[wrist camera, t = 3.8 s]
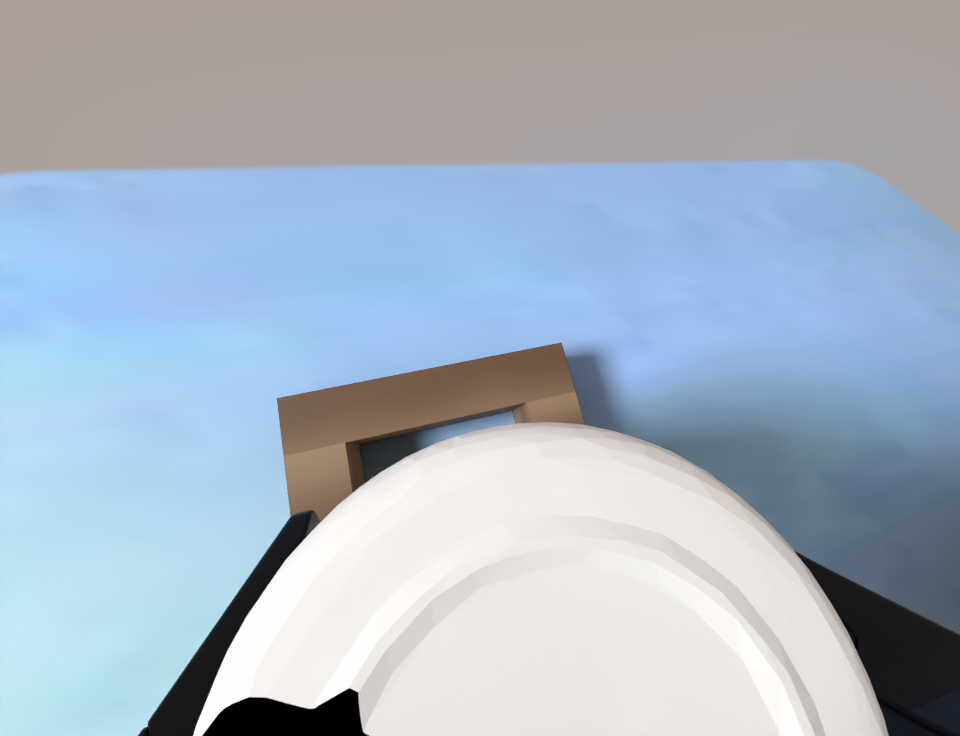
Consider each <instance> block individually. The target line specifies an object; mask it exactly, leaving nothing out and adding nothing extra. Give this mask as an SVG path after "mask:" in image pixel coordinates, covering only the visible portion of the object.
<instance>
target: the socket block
mask: <svg viewBox="0 0 960 736" xmlns="http://www.w3.org/2000/svg"><path fill="white" fill-rule="evenodd" d="M277 403H278V412H279V420H280V429H281V437H282V446H283V454H284V463H285V472H286V480H287V489H288V497H289V506H290V514H291V516H292V515H294V514H296V513H300V512H304V511H308V510H313V511H315V513H316V514H317V516H318V518H319V520H320V522H321V521H322V520H323V519H324V518H325V517H326V516H327V515H328V514H329V513H330V512H331V511H332V510H333V509H334V508H335V507H336V506H337V505H338V504H340V503H341V502H342V501H343V500H345V499H346V498H347V497H348V496H349V495H351V494H352V493H353V492H354V491H356V490H357V489H358V488H359V487H360V486H362V485H363V484H365V477H364V470H363V464H362V458H361V452H360V445H361V444H366V443H370V442H375V441H379V440H384V439H388V438H392V437H397V436H401V435H406V434H410V433H415V432H419V431H424V430H428V429H433V428H437V427H442V426H446V425H451V424H455V423H460V422H464V421H469V420H473V419H477V418H482V417H486V416H491V415H495V414H500V413H504V412H509V411H513V414H514V418H515V422H516V424H517V423H537V422H556V423H571V424H583V425H585V423H584V419H583V416H582V412H581V409H580V405H579V402H578V398H577V395H576V392H575V388H574V385H573V381H572V378H571V374H570V371H569V367H568V364H567V360H566V357H565V353H564V350H563V346H562V343H557V344H552V345H547V346H542V347H537V348H532V349H527V350H522V351H516V352H511V353H506V354H501V355H496V356H491V357H486V358H481V359H476V360H470V361H465V362H460V363H455V364H450V365H445V366H440V367H435V368H430V369H425V370H419V371H414V372H409V373H404V374H399V375H394V376H389V377H384V378H379V379H373V380H368V381H363V382H358V383H353V384H348V385H343V386H338V387H333V388H328V389H322V390H317V391H312V392H307V393H302V394H297V395H292V396H287V397H282V398H277Z"/></svg>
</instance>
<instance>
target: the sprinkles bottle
mask: <svg viewBox="0 0 960 736" xmlns="http://www.w3.org/2000/svg"><path fill="white" fill-rule="evenodd" d="M193 736H889V735H888V732H887V728H886V724H885V720H884V717H883V714H882V711H881V709H880V706H879V703H878V701H877V698H876V695H875V692H874V690H873V687H872V684H871V682H870V679H869V677H868V674H867V672H866V670H865V668H864V666H863V664H862V662H861V659H860V657H859V655H858V653H857V651H856V649H855V646H854V644H853V642H852V640H851V638H850V636H849V634H848V631H847V630H846V628H845V626H844V625H843V623H842V621H841V619H840V618H839V616H838V614H837V612H836V611H835V609H834V607H833V606H832V604H831V602H830V601H829V599H828V598H827V596H826V595H825V593H824V592H823V590H822V589H821V587H820V585H819V584H818V582H817V581H816V579H815V578H814V576H813V575H812V573H811V572H810V570H809V569H808V568H807V567H806V565H805V564H804V563H803V562H802V560H801V559H800V558H799V557H798V555H797V554H796V553H795V552H794V550H793V549H792V548H791V547H790V545H789V544H788V543H787V542H786V541H785V540H784V539H783V537H782V536H781V535H780V534H779V533H778V532H777V531H776V530H775V529H774V528H773V527H772V526H771V525H770V524H769V523H768V522H767V521H766V520H765V519H764V518H763V517H762V516H761V515H760V514H759V513H758V512H757V511H756V510H755V509H754V508H752V507H751V506H750V505H749V504H748V503H747V502H746V501H745V500H743V499H742V498H741V497H740V496H739V495H738V494H736V493H735V492H733V491H732V490H731V489H729V488H728V487H727V486H725V485H724V484H723V483H721V482H720V481H719V480H717V479H716V478H715V477H713V476H712V475H711V474H709V473H708V472H707V471H705V470H703V469H701V468H700V467H698V466H696V465H694V464H693V463H691V462H689V461H688V460H686V459H684V458H682V457H681V456H679V455H677V454H676V453H674V452H672V451H670V450H667V449H665V448H663V447H660V446H658V445H655V444H653V443H650V442H647V441H645V440H642V439H639V438H636V437H632V436H629V435H626V434H622V433H619V432H616V431H613V430H608V429H603V428H598V427H593V426H588V425H583V424H571V423H556V422H537V423H517V424H509V425H502V426H494V427H490V428H485V429H480V430H476V431H471V432H468V433H465V434H462V435H458V436H455V437H452V438H449V439H446V440H442V441H439V442H437V443H435V444H433V445H431V446H429V447H426V448H424V449H422V450H420V451H418V452H416V453H414V454H411V455H409V456H407V457H405V458H404V459H402V460H400V461H399V462H397V463H395V464H393V465H392V466H390V467H388V468H387V469H385V470H383V471H382V472H380V473H379V474H377V475H376V476H375V477H373V478H372V479H370V480H369V481H368V482H366V483H365V484H363V485H362V486H360V487H359V488H358V489H357V490H356V491H354V492H353V493H352V494H351V495H349V496H348V497H347V498H346V499H345V500H343V501H342V502H341V503H340V504H338V505H337V506H336V507H335V508H334V509H333V510H332V511H331V512H330V513H329V514H328V515H327V516H326V517H325V518H324V519H323V520H322V521H321V522H320V523H319V524H318V525H317V526H316V527H315V529H314V530H313V531H312V532H311V533H310V534H309V535H308V536H307V537H306V538H305V539H304V540H303V541H302V542H301V544H300V545H299V546H298V547H297V548H296V549H295V550H294V551H293V552H292V553H291V555H290V556H289V557H288V558H287V559H286V560H285V562H284V563H283V564H282V566H281V567H280V569H279V570H278V572H277V573H276V574H275V576H274V577H273V579H272V580H271V582H270V583H269V584H268V586H267V587H266V589H265V590H264V592H263V593H262V595H261V596H260V598H259V599H258V601H257V602H256V603H255V605H254V606H253V608H252V609H251V611H250V612H249V613H248V615H247V617H246V618H245V620H244V622H243V624H242V625H241V627H240V629H239V631H238V633H237V634H236V636H235V638H234V640H233V642H232V643H231V645H230V647H229V649H228V651H227V653H226V655H225V658H224V660H223V662H222V664H221V667H220V669H219V671H218V673H217V676H216V678H215V681H214V683H213V685H212V688H211V690H210V693H209V695H208V698H207V700H206V703H205V705H204V708H203V710H202V713H201V715H200V717H199V720H198V722H197V725H196V728H195V731H194V735H193Z"/></svg>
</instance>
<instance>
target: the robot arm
mask: <svg viewBox="0 0 960 736" xmlns="http://www.w3.org/2000/svg"><path fill="white" fill-rule="evenodd" d="M319 523H320V520H319V518H318V516H317V514H316V513H315V511H313V510H308V511H304V512H300V513H296V514H294V515H292V516H291V517H290V518H289V520H288V521H287V523H286V524H285V526H284V527H283V528H282V530H281V531H280V533H279V534H278V536H277V537H276V539H275V540H274V541H273V543H272V544H271V546H270V547H269V549H268V550H267V551H266V553H265V554H264V556H263V557H262V559H261V560H260V561H259V563H258V564H257V566H256V567H255V569H254V570H253V572H252V573H251V574H250V576H249V577H248V579H247V580H246V582H245V583H244V584H243V586H242V587H241V589H240V590H239V592H238V593H237V595H236V596H235V597H234V599H233V600H232V602H231V603H230V605H229V606H228V607H227V609H226V610H225V612H224V613H223V615H222V616H221V618H220V619H219V620H218V622H217V623H216V625H215V626H214V628H213V629H212V630H211V632H210V633H209V635H208V636H207V638H206V639H205V641H204V642H203V643H202V645H201V646H200V648H199V649H198V651H197V652H196V653H195V655H194V656H193V658H192V659H191V661H190V662H189V664H188V665H187V666H186V668H185V669H184V671H183V672H182V674H181V675H180V676H179V678H178V679H177V681H176V682H175V684H174V685H173V687H172V688H171V689H170V691H169V692H168V694H167V695H166V697H165V698H164V699H163V701H162V702H161V704H160V705H159V707H158V708H157V710H156V711H155V712H154V714H153V715H152V717H151V718H150V720H149V721H148V727H145V728H144V729H142V731H141V732H140V734H139V735H138V736H193V735H194V731H195V728H196V725H197V722H198V720H199V717H200V715H201V713H202V710H203V708H204V705H205V703H206V700H207V698H208V695H209V693H210V690H211V688H212V685H213V683H214V681H215V678H216V676H217V673H218V671H219V669H220V667H221V664H222V662H223V660H224V658H225V655H226V653H227V651H228V649H229V647H230V645H231V643H232V642H233V640H234V638H235V636H236V634H237V633H238V631H239V629H240V627H241V625H242V624H243V622H244V620H245V618H246V617H247V615H248V613H249V612H250V611H251V609H252V608H253V606H254V605H255V603H256V602H257V601H258V599H259V598H260V596H261V595H262V593H263V592H264V590H265V589H266V587H267V586H268V584H269V583H270V582H271V580H272V579H273V577H274V576H275V574H276V573H277V572H278V570H279V569H280V567H281V566H282V564H283V563H284V562H285V560H286V559H287V558H288V557H289V556H290V555H291V553H292V552H293V551H294V550H295V549H296V548H297V547H298V546H299V545H300V544H301V542H302V541H303V540H304V539H305V538H306V537H307V536H308V535H309V534H310V533H311V532H312V531H313V530H314V529H315V527H316V526H317V525H318V524H319ZM794 552H795V553H796V554H797V555H798V557H799V558H800V559H801V560H802V562H803V563H804V564H805V565H806V567H807V568H808V569H809V570H810V572H811V573H812V575H813V576H814V578H815V579H816V581H817V582H818V584H819V585H820V587H821V589H822V590H823V592H824V593H825V595H826V596H827V598H828V599H829V601H830V602H831V604H832V606H833V607H834V609H835V611H836V612H837V614H838V616H839V618H840V619H841V621H842V623H843V625H844V626H845V628H846V630H847V631H848V634H849V636H850V638H851V640H852V642H853V644H854V646H855V649H856V651H857V653H858V655H859V657H860V659H861V662H862V664H863V666H864V668H865V670H866V672H867V674H868V677H869V679H870V682H871V684H872V687H873V690H874V692H875V695H876V698H877V701H878V703H879V706H880V709H881V711H882V714H883V717H884V720H885V724H886V728H887V732H888V735H889V736H960V635H959V634H957V633H955V632H953V631H951V630H949V629H947V628H945V627H943V626H941V625H939V624H937V623H935V622H933V621H931V620H929V619H927V618H925V617H923V616H921V615H919V614H917V613H915V612H913V611H911V610H909V609H907V608H905V607H903V606H901V605H899V604H897V603H895V602H893V601H891V600H889V599H887V598H885V597H883V596H881V595H879V594H877V593H875V592H873V591H871V590H869V589H867V588H865V587H863V586H861V585H859V584H857V583H855V582H853V581H851V580H849V579H847V578H845V577H843V576H841V575H839V574H837V573H835V572H833V571H831V570H829V569H827V568H825V567H824V566H822V565H820V564H818V563H816V562H814V561H812V560H810V559H809V558H807V557H805V556H803V555H801V554H800V553H798V552H796V551H794Z"/></svg>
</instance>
